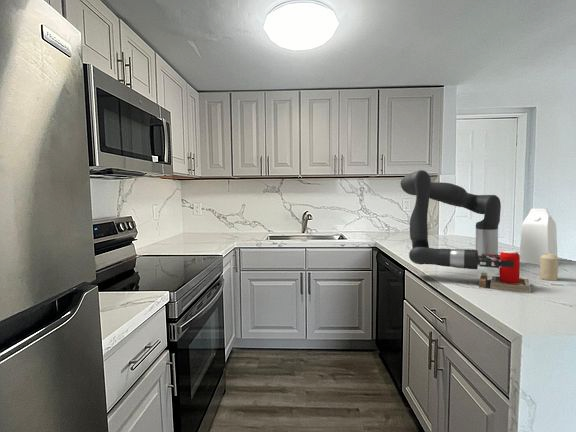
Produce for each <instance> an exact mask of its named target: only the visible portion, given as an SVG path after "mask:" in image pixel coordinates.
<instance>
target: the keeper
mask: <svg viewBox="0 0 576 432" xmlns="http://www.w3.org/2000/svg"><path fill="white" fill-rule="evenodd" d="M530 285H531V283H530V282H529V279H528V278H523V277H522V278H521V277H520V282H519V283H518V284H510V283H502V282H500V280H499V275H492V277H491V280H490V287H489V289H490V290H499V289H501V290H500V291H509V292H518V293H519V292H520V293H530V294H532V289H531V286H530Z"/></svg>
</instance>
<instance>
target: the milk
mask: <svg viewBox="0 0 576 432" xmlns="http://www.w3.org/2000/svg"><path fill="white" fill-rule="evenodd" d="M520 229H521V231H520V241H519V256H520V263H525V264H531V265H538V266H540V257H541V256H542V255H545V254H547V253H551V254H552V255H553V254H554V255H555V256H556V257H557V258H558V238H557V223H556V222H555V220H554V219H553V217H552V215H550V212H549V211H548V208H531V209H530V210H529V212H528V214H527V215H526V217H525V218H524V220H523V222H522V224H521V228H520ZM558 259H559V258H558Z"/></svg>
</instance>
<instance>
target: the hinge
mask: <svg viewBox="0 0 576 432" xmlns="http://www.w3.org/2000/svg"><path fill="white" fill-rule="evenodd" d="M406 248H407V249H408V250H409V252H410V251H411V249H412V241H411V240H410V243H408V244H407V245H406Z"/></svg>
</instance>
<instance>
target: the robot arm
mask: <svg viewBox="0 0 576 432" xmlns="http://www.w3.org/2000/svg"><path fill="white" fill-rule="evenodd" d="M400 187H401V190H402V191H403V192H405V193H406V194H408V195H411V196H415V203H414V207H413V209H412V212H411V216H410V219H409V236H410V237H409V238H410V242H411V241H412V249H411V251H410V250H409V252H408V258H409V259H410V261H411V262H412V263H414V264H416V265H432V266H433V265H435V266H441V267H451V268H456V269H466V270H478V269H479V267H481V268H483V267H484V268H494V269H495V268H496V269H499V267H501V266H502V267H514V261H506V260H502V261H501V260H500V254H499V225H500V222H501V210H502V206H501V200H500V199H501V198H499V197H498V196H497V195H495V194H474V193H473V194H472V193H469V192H467V190H466V189H465V188H464V187H462V186H460V185H456V184H454V183H449V182H440V181H437V182H435V181H434V182H433V181H431V177H430V174H429V172H427V171H426V170H423V169H420V170H417V171H413V172H411V173H409V174H406V175H405V176H404V177H402V178H401V181H400ZM430 200H433V201H435V202H436V201H437V202H441V203H443V204H446V205H450V206H454V207H458V208H463V209H466V210H469V211H471V212H473V213H475V214H479V215H483V217H484V218H482V220H480V221H478V222H476V223H475V249H472V248H471V249H469V248H433V247H432V248H431V247H430V246H429V244H430V243H429V240H428V236H429V235H428V231H429V230H428V214H429V213H428V212H429V211H428V210H429V203H430Z"/></svg>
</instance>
